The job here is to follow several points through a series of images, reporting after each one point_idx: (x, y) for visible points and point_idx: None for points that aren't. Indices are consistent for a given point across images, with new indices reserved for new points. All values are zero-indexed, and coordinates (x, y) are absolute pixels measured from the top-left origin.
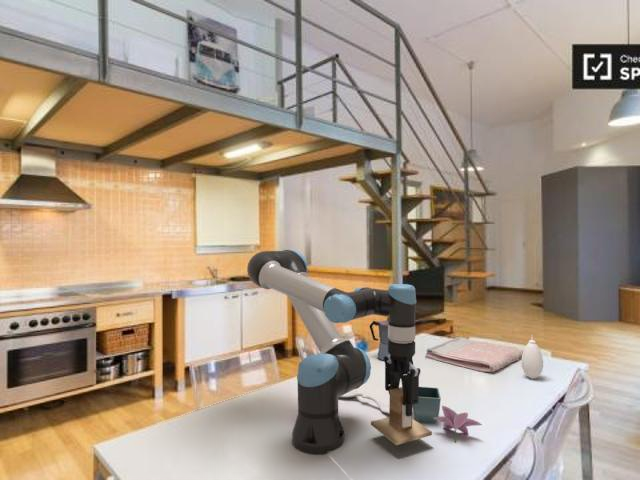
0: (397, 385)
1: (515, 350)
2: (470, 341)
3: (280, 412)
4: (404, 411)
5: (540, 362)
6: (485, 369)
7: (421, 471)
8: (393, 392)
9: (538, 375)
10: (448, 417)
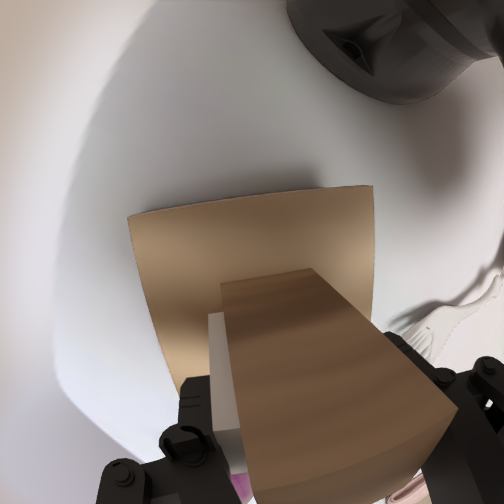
0: (435, 478)
1: None
2: None
3: (486, 58)
4: (211, 387)
5: None
6: (399, 492)
7: (69, 263)
8: (391, 441)
9: None
10: (245, 474)
